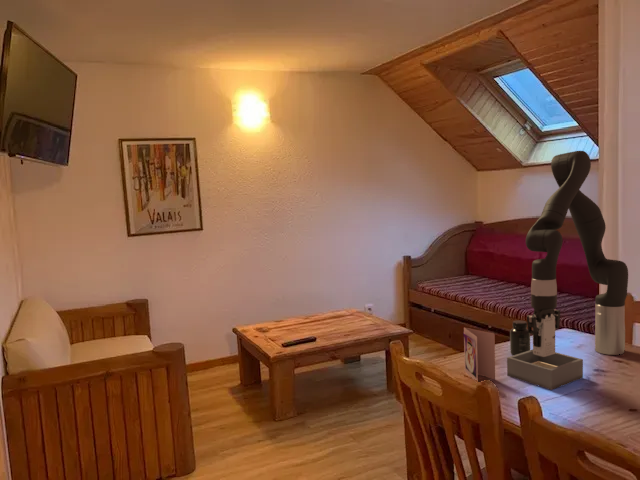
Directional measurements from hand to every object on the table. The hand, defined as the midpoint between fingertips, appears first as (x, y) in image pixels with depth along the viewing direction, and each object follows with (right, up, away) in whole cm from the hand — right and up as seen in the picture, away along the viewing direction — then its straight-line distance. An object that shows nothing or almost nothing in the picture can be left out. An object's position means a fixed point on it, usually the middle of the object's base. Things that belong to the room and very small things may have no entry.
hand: (543, 344), depth 171 cm
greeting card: (-19, -11, +4) cm, 23 cm away
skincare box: (0, -3, 0) cm, 3 cm away
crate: (+1, -10, +1) cm, 10 cm away
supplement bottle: (+1, -8, +24) cm, 25 cm away
